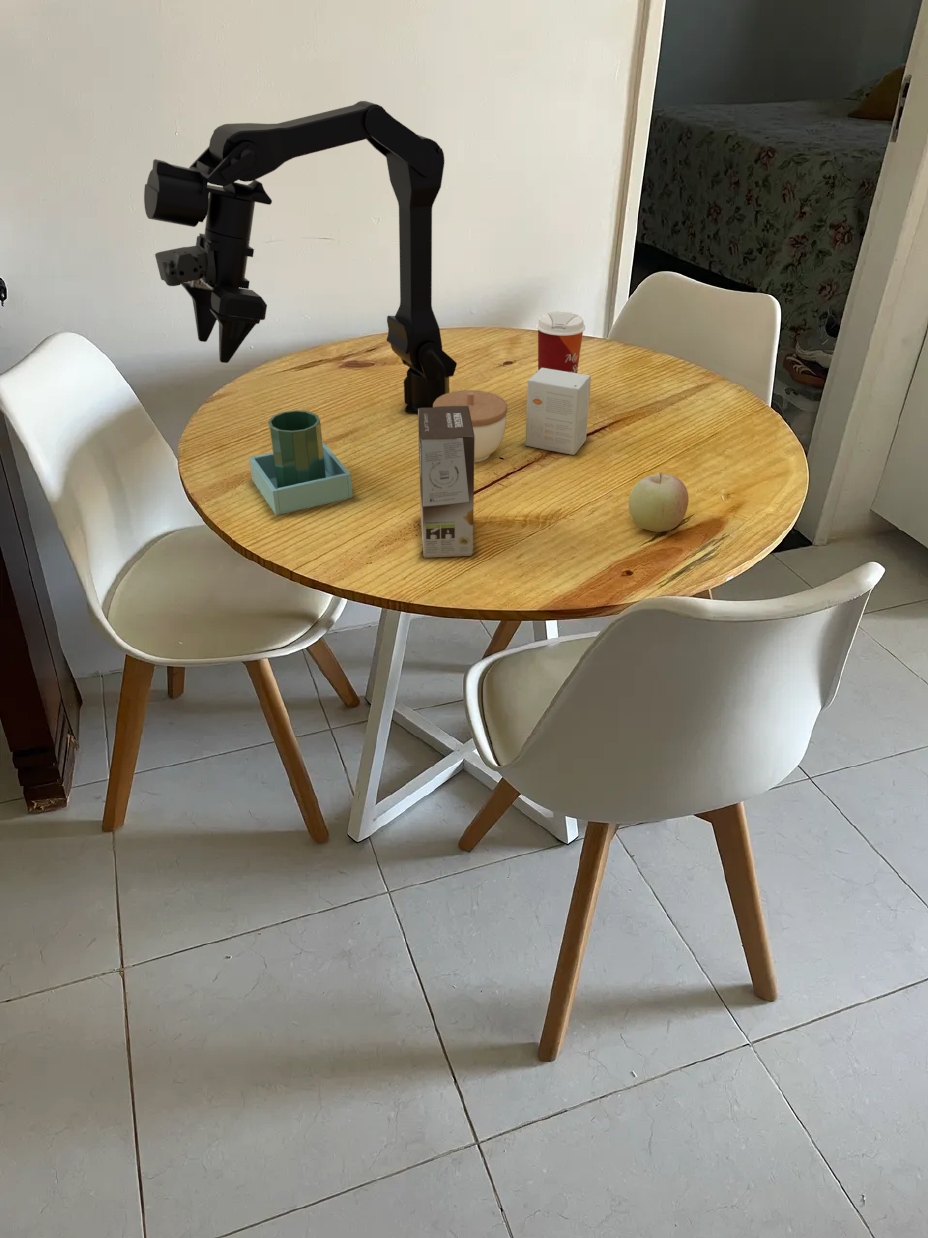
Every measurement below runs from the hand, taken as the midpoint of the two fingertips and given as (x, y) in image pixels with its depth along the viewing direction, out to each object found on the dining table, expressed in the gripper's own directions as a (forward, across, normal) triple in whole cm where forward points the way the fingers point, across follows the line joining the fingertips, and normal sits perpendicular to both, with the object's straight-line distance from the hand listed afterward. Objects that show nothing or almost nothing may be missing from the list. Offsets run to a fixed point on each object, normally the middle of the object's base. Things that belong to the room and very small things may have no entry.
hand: (212, 351), depth 127 cm
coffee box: (+10, +37, +20) cm, 43 cm away
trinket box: (+6, +18, +34) cm, 39 cm away
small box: (+3, +22, +46) cm, 51 cm away
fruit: (+3, +48, +44) cm, 65 cm away
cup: (+13, +16, +9) cm, 23 cm away
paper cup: (0, +9, +55) cm, 55 cm away
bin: (+14, +16, +9) cm, 23 cm away
